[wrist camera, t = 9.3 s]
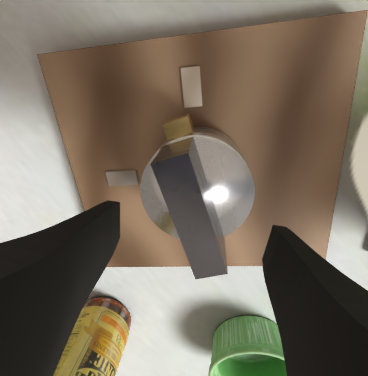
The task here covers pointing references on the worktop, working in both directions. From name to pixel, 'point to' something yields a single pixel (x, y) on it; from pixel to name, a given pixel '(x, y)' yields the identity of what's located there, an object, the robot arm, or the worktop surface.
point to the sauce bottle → (96, 340)
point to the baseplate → (214, 123)
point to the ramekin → (247, 348)
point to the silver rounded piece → (198, 192)
